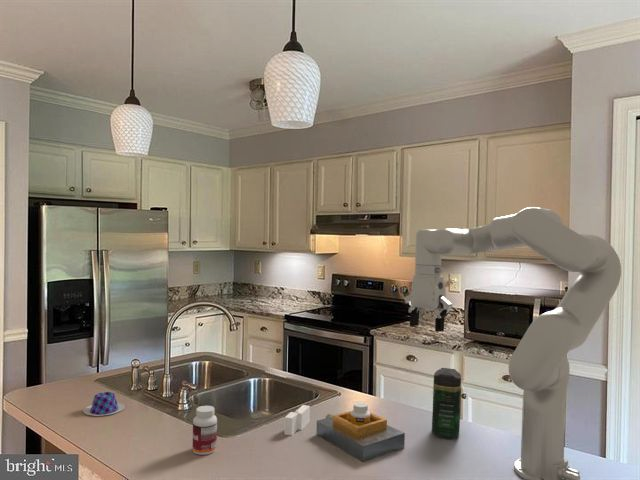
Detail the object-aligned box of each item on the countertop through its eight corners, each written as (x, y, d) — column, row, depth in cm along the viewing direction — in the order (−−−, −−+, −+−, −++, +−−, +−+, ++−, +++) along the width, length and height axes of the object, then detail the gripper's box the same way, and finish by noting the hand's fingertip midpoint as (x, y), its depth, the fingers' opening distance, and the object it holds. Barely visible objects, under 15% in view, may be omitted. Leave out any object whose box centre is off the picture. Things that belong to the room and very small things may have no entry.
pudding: (126, 414, 150) (127, 397, 149) (84, 420, 144) (84, 403, 144) (122, 402, 160) (122, 386, 160) (82, 407, 154) (82, 391, 154)
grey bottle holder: (404, 447, 130) (405, 423, 130) (363, 461, 121) (363, 436, 121) (347, 419, 149) (348, 398, 149) (308, 429, 140) (308, 407, 140)
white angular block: (306, 418, 150) (307, 400, 150) (326, 431, 141) (327, 412, 141) (263, 427, 142) (264, 408, 142) (281, 441, 133) (282, 421, 133)
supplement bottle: (353, 446, 130) (353, 408, 130) (347, 437, 136) (348, 401, 136) (372, 444, 132) (373, 407, 132) (365, 436, 137) (366, 400, 137)
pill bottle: (190, 447, 127) (191, 405, 127) (214, 443, 129) (215, 403, 129) (193, 457, 121) (195, 414, 121) (218, 453, 124) (219, 411, 124)
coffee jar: (459, 442, 135) (461, 376, 135) (430, 437, 137) (432, 372, 137) (460, 429, 144) (462, 367, 144) (433, 425, 146) (435, 364, 146)
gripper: (460, 272, 137) (458, 332, 137) (414, 268, 151) (413, 322, 151) (443, 273, 133) (441, 335, 133) (397, 269, 147) (396, 325, 147)
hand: (426, 328), depth 142 cm, fingers open, 9 cm apart
